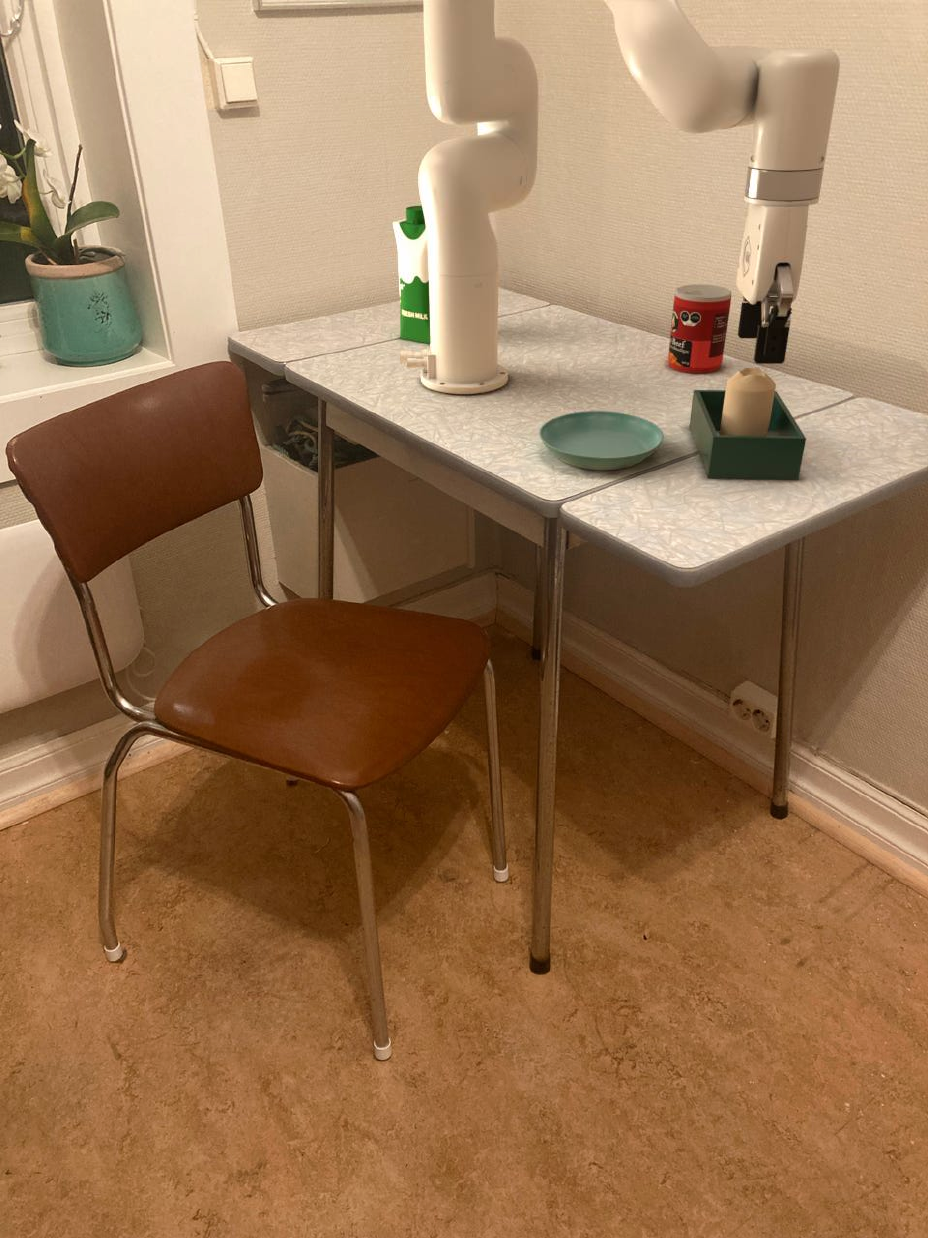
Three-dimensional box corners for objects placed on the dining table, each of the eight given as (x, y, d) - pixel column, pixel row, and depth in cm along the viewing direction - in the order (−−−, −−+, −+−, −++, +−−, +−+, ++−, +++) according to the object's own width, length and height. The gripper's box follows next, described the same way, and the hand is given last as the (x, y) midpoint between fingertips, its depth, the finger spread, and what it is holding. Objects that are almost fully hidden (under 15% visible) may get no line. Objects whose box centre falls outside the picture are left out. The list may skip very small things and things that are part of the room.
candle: (765, 462, 113) (779, 379, 108) (717, 459, 114) (729, 377, 109) (762, 445, 118) (776, 364, 112) (716, 441, 119) (728, 362, 113)
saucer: (537, 430, 123) (537, 410, 121) (653, 430, 122) (655, 410, 121) (540, 477, 110) (540, 456, 109) (669, 478, 110) (671, 457, 108)
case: (707, 478, 110) (713, 436, 107) (689, 427, 123) (693, 389, 120) (798, 479, 109) (806, 438, 106) (770, 428, 122) (776, 390, 120)
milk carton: (392, 339, 157) (386, 207, 146) (423, 325, 163) (420, 198, 152) (437, 347, 153) (434, 212, 142) (467, 333, 159) (466, 203, 148)
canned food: (661, 358, 147) (669, 284, 141) (712, 357, 147) (722, 283, 141) (675, 375, 140) (683, 298, 134) (728, 373, 141) (739, 296, 135)
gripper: (731, 175, 108) (714, 329, 117) (762, 199, 93) (739, 373, 102) (800, 174, 107) (777, 328, 116) (842, 198, 92) (811, 373, 102)
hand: (759, 349), depth 109 cm, fingers open, 9 cm apart
